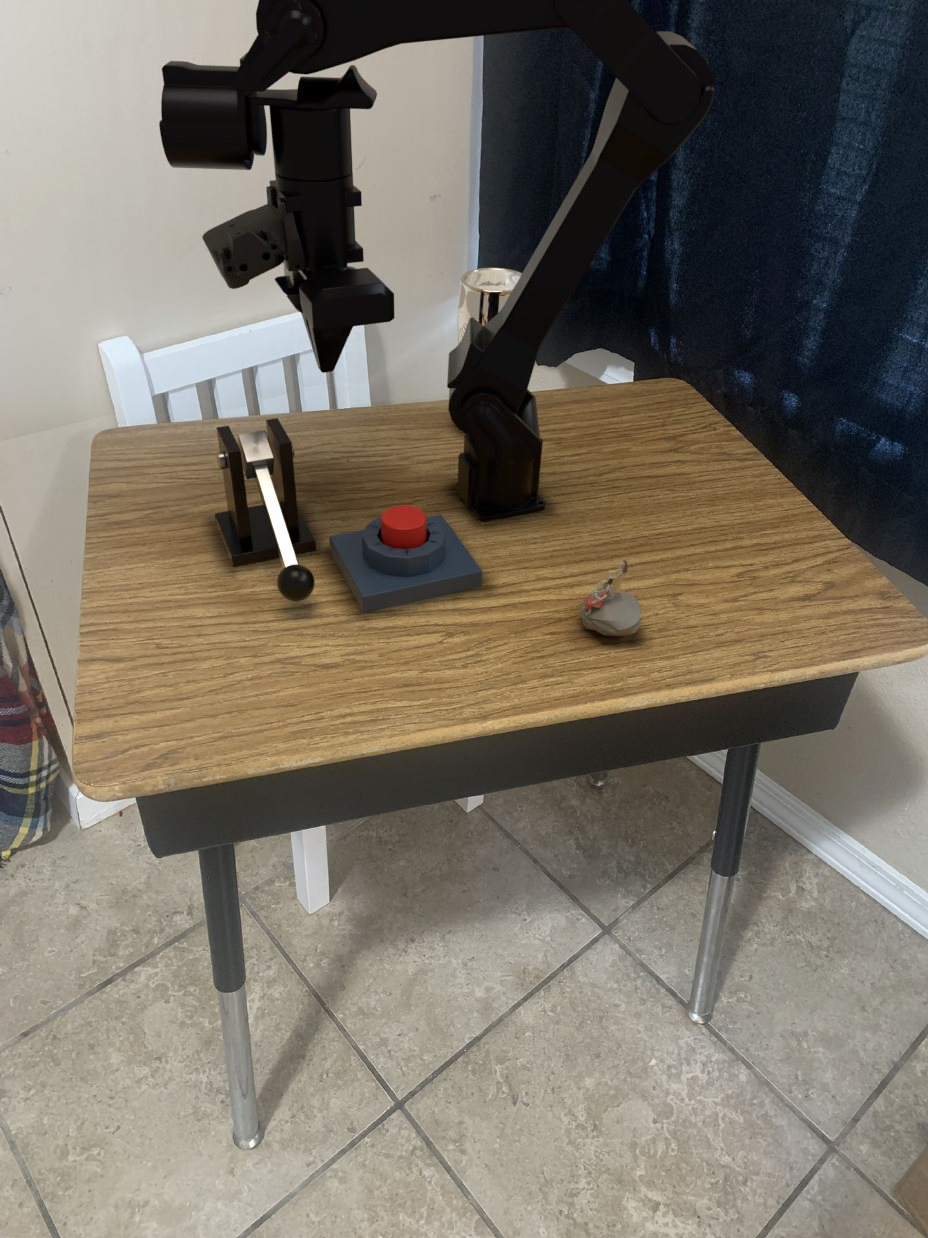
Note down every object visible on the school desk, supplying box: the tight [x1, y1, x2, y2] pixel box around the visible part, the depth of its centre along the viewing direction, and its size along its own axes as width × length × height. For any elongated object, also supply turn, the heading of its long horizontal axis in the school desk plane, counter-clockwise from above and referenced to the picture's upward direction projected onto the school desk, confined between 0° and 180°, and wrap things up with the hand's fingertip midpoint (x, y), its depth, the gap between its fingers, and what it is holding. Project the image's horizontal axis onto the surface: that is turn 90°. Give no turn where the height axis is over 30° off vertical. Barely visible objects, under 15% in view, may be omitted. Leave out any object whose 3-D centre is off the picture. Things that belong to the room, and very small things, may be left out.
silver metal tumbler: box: [456, 267, 523, 345], centre depth 97 cm, size 7×7×15 cm
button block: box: [328, 514, 483, 614], centre depth 79 cm, size 10×9×4 cm
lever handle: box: [237, 429, 316, 602], centre depth 76 cm, size 15×3×3 cm, turn 23°
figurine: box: [580, 559, 642, 637], centre depth 73 cm, size 5×4×6 cm
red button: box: [380, 504, 428, 549], centre depth 78 cm, size 4×4×2 cm
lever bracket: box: [214, 417, 317, 568], centre depth 80 cm, size 7×7×10 cm
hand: (326, 370), depth 82 cm, fingers closed
